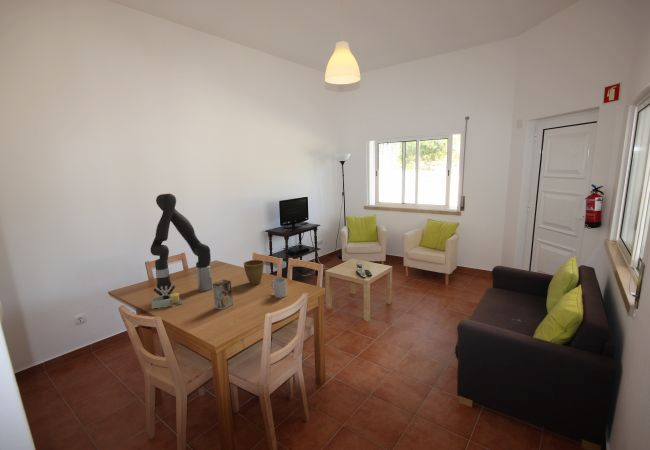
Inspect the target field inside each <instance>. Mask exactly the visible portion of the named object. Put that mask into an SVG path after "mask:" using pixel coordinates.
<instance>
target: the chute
mask: <svg viewBox="0 0 650 450" xmlns="http://www.w3.org/2000/svg"><path fill="white" fill-rule="evenodd" d="M171 293H174V291H172V292H171ZM150 303H151V304H150V305H151V310H155V309H154V308H158V309H161V308H160V307H164V308H168V307H167V306H170V308H174V306H173V305H176V306H179V305H180V304H181V305H183V298H181V297H180V298H179V302H178V303H173V298H171V299H170V294H169V295H168V299H165V300H163V296H160V295H158V296H152V301H151V302H150ZM181 305H180V306H181Z"/></svg>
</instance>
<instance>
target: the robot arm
mask: <svg viewBox="0 0 650 450" xmlns="http://www.w3.org/2000/svg"><path fill="white" fill-rule="evenodd" d="M155 203H156V205H157V207H158V208H159V209H160V210H161V211H162V214H161V217H160V219H159V221H158V223H157V226H156V229H155V235H154V239H153V241H152V244H151V245H150V250H149V251H150V254H151V255H152V256H157V257H158V256H159V258H158V259H156V260H155V261H154V264H155V265H154V267H155V277H156V287H153V291H154V292H155V293H156V294H157V295H158V296H163V300H165V299H168V295H170V294H171V292H174V290H175V288H176V285H175V284H172V282H171V278H170V277H171V276H170V268H169V263H168V259H169V256H170V255H169V254H170V250H169V247H168V246H167V245H165V244H163V243H164V242H165V241H167V240H168V237H169V230H170V224H171V223H172V225H173V226H174V227H175V229H176V231H177V232H178V233H179V234H180V235H181V237H182V238H183V239H184V240H185V242H186V243H187V244H188V246H189V248H190V250H191V251H192V253H193V254H194V255H195V256H196V257H197V262H195V267H196V276H197V286H198V288H197V289H198V291H200V292H205V291H210V290H213V281H212V271H211V261H212V260H211V249H210V246H208V245H207V244H204V243H202V242H201V241H200V240H199V239H198V237H197V236H196V235H197V234H196V233H195V232H196V231H195V229H194V227H193V225H192V224H191V222H190V221H189V219H188V218H187V217H186V216H184V215H183V214H182V213H180V212H179V211H178V210H177V209H176V208H175V207H176V204H177V198H176V196H175V195H174V194H172V193H163V194H159V195H157V196H156V198H155Z"/></svg>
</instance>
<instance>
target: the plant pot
mask: <svg viewBox="0 0 650 450" xmlns="http://www.w3.org/2000/svg"><path fill="white" fill-rule="evenodd" d="M264 266H265V261H264V260H262V259H251V260H247V261H245V262H243V269H244V272H245V276H246V278H247V279H248V281H249V284H250V285H259V284H261V282H262V277H263V273H264V268H265V267H264Z"/></svg>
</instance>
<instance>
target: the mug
mask: <svg viewBox="0 0 650 450" xmlns="http://www.w3.org/2000/svg"><path fill="white" fill-rule="evenodd" d="M271 288H272V290H273V295H274V296H273V297H275V298H279V299H280V298H281V299H282V298H285V297H287V295H288V291H287V279H286V278H284V277H277V278H274V279H272V281H271Z"/></svg>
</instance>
